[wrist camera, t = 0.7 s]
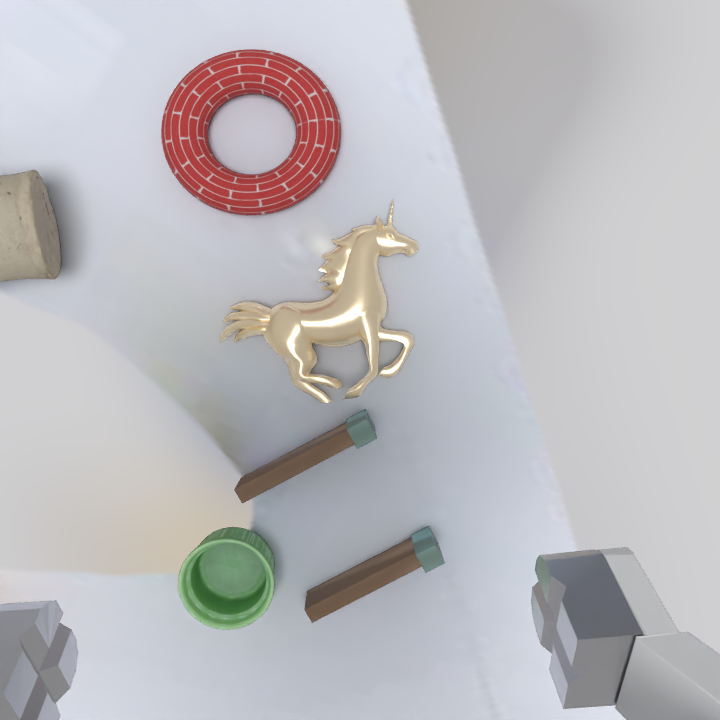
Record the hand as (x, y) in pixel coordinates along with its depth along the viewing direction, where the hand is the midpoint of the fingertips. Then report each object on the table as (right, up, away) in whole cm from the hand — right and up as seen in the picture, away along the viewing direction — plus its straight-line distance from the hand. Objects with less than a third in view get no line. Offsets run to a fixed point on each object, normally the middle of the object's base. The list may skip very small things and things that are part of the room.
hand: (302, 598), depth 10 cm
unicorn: (-3, +9, +48) cm, 49 cm away
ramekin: (-12, -16, +51) cm, 55 cm away
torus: (-9, +25, +46) cm, 53 cm away
